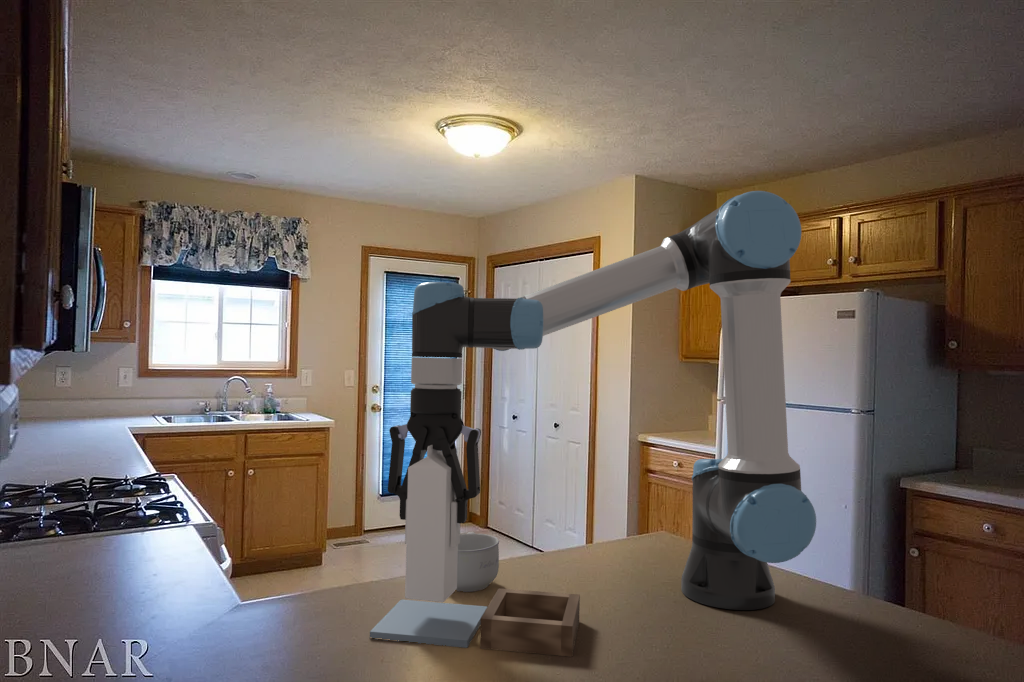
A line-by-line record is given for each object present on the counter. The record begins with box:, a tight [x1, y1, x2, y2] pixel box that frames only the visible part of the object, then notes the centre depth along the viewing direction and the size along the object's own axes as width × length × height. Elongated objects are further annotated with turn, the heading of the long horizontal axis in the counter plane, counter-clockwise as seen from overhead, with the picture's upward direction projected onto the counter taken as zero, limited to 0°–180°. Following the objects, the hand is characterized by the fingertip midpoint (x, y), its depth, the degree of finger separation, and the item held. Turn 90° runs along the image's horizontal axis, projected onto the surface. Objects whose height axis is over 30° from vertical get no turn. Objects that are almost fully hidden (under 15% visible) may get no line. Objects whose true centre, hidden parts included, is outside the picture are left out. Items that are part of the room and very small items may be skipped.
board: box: [369, 599, 488, 649], centre depth 100 cm, size 14×13×1 cm
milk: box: [404, 445, 458, 603], centre depth 100 cm, size 6×6×22 cm
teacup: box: [456, 531, 500, 593], centre depth 119 cm, size 14×11×8 cm
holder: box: [479, 588, 581, 658], centre depth 97 cm, size 12×12×4 cm
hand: (432, 543), depth 100 cm, fingers closed on milk, 6 cm apart
